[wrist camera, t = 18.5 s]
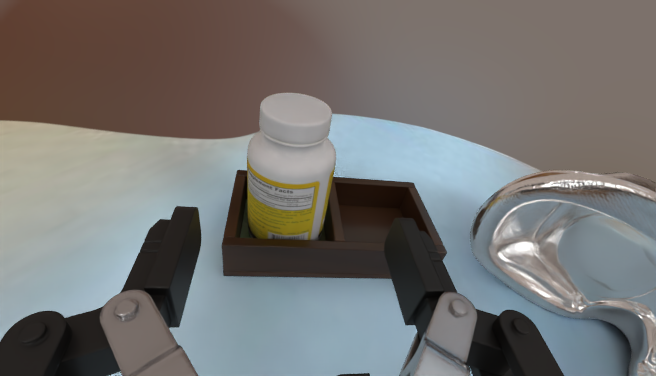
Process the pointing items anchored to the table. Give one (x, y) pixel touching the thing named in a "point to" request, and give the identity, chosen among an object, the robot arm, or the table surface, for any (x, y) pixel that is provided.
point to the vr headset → (578, 249)
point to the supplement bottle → (290, 168)
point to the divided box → (328, 233)
